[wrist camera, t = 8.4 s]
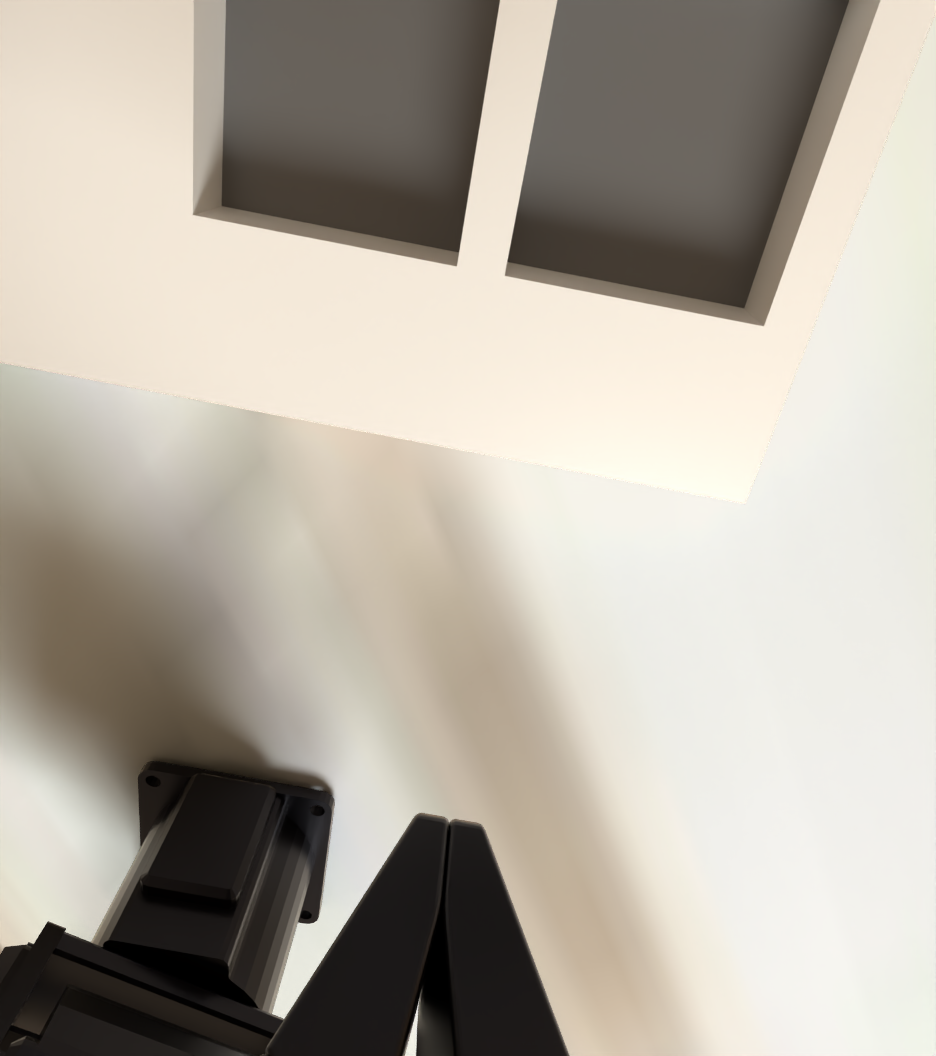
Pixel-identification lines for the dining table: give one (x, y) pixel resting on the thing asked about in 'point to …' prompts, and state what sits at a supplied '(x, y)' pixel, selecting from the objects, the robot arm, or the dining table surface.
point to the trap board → (448, 211)
